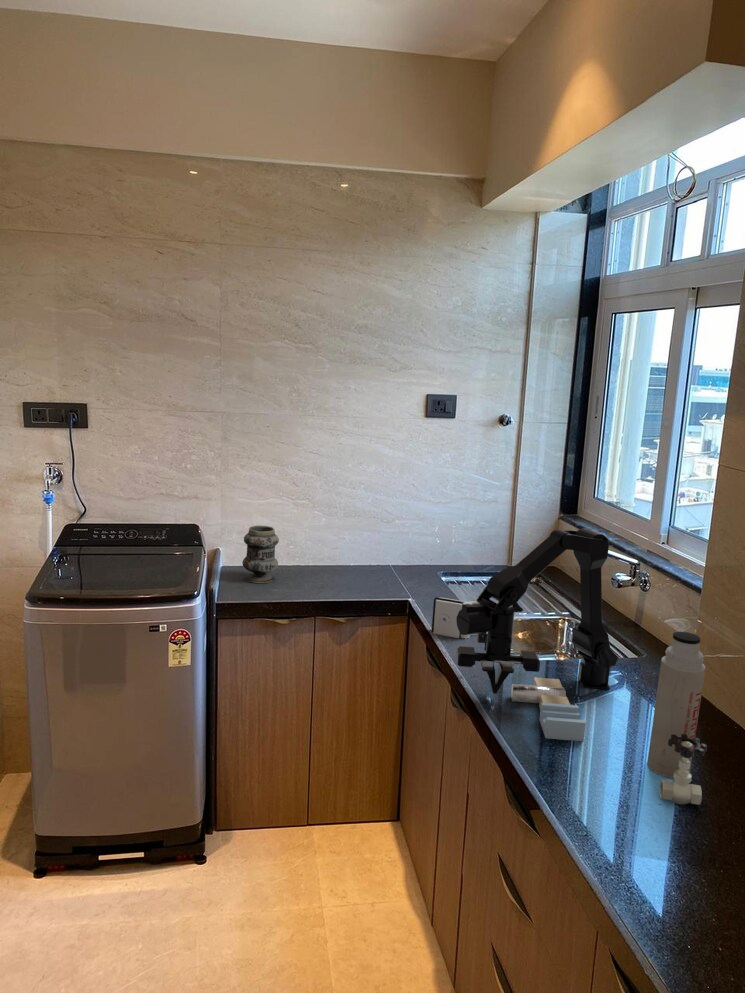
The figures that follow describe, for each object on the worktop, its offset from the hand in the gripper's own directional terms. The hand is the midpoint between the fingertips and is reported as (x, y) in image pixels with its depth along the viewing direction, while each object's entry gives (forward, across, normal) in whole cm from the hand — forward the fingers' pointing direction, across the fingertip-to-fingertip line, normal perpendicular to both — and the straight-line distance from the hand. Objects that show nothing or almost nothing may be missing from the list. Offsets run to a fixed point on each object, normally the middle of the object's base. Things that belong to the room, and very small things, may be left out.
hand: (494, 692), depth 175 cm
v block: (+1, -13, +13) cm, 19 cm away
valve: (+2, -30, +37) cm, 48 cm away
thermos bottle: (+2, -32, +25) cm, 41 cm away
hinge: (+2, +7, -40) cm, 41 cm away
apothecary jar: (+1, +72, -78) cm, 106 cm away
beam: (+1, -13, 0) cm, 13 cm away
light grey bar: (+2, -10, 0) cm, 10 cm away
